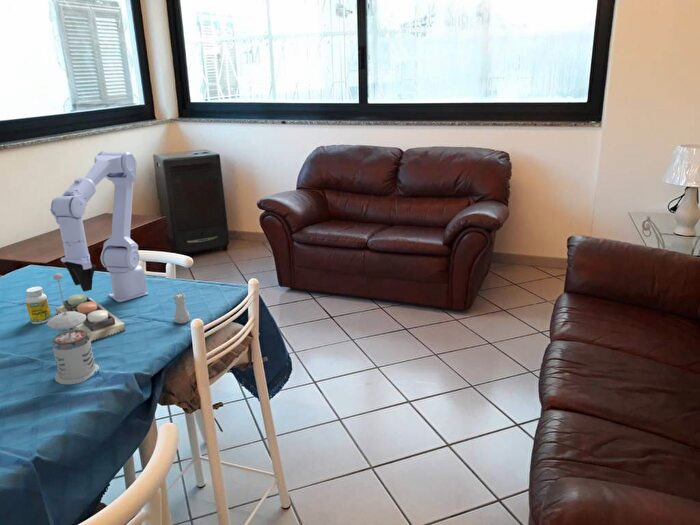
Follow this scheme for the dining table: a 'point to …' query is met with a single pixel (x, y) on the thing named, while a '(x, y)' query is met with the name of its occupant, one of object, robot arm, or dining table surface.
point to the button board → (98, 328)
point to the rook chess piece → (181, 309)
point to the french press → (77, 359)
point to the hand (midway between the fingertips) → (83, 287)
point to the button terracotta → (87, 307)
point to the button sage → (77, 299)
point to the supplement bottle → (37, 305)
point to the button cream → (97, 316)
